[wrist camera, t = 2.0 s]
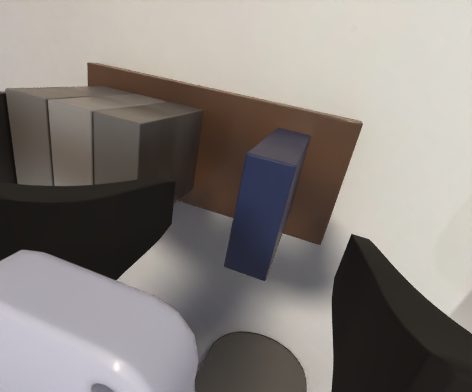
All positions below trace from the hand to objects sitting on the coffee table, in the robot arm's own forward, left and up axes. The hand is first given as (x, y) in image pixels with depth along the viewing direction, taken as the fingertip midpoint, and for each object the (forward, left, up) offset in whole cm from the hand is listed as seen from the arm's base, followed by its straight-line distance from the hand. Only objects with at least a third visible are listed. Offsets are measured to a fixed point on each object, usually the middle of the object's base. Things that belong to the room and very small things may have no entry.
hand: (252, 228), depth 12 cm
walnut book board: (0, +6, -9) cm, 10 cm away
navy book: (0, 0, -8) cm, 8 cm away
